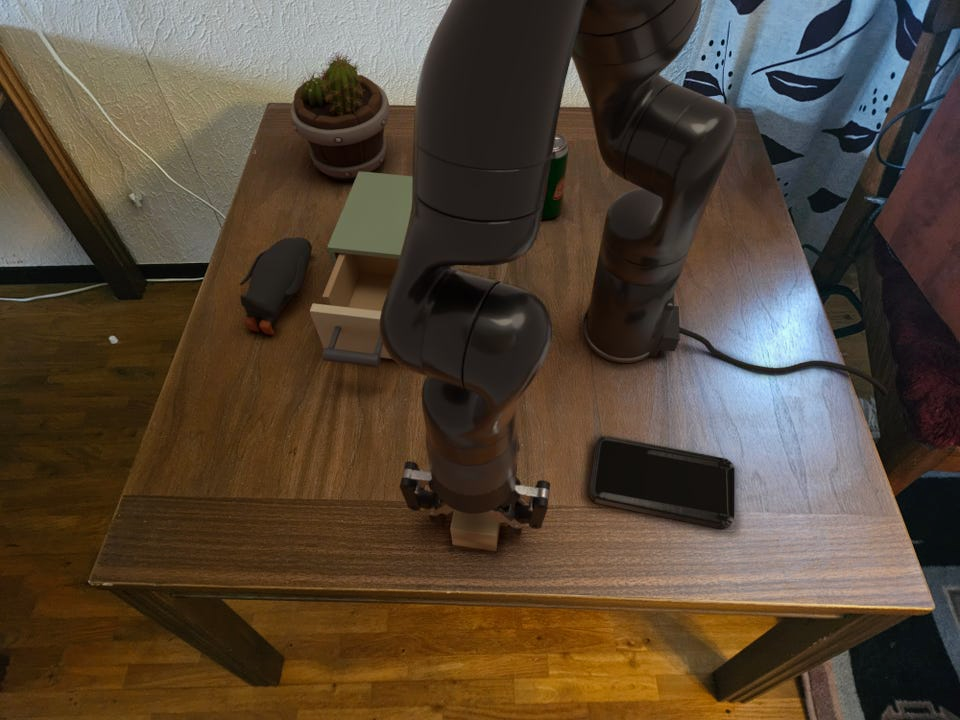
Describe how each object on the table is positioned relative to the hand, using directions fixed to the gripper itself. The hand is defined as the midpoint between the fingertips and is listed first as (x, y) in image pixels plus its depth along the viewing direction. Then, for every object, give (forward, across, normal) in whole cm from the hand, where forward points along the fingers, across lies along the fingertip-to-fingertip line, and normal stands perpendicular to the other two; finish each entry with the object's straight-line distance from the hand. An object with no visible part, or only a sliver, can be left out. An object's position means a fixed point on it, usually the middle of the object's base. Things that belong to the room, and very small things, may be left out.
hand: (477, 524), depth 66 cm
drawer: (0, -17, +24) cm, 29 cm away
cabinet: (+1, -17, +36) cm, 40 cm away
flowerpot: (+1, -30, +57) cm, 64 cm away
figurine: (+1, -31, +28) cm, 42 cm away
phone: (+1, +19, +8) cm, 21 cm away
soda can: (+1, +2, +50) cm, 50 cm away
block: (+1, 0, 0) cm, 1 cm away
